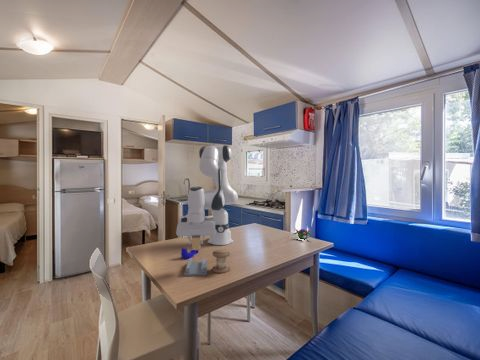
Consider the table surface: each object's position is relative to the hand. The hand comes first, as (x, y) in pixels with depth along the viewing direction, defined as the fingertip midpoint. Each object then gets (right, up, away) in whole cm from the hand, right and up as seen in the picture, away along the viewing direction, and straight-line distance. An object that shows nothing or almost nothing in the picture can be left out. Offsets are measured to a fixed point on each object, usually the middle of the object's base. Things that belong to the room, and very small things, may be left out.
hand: (196, 243), depth 119 cm
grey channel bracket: (0, -14, 0) cm, 14 cm away
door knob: (+13, -14, 0) cm, 19 cm away
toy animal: (+72, -13, +54) cm, 91 cm away
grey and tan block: (0, -3, 0) cm, 3 cm away
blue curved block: (-7, -14, +21) cm, 26 cm away
